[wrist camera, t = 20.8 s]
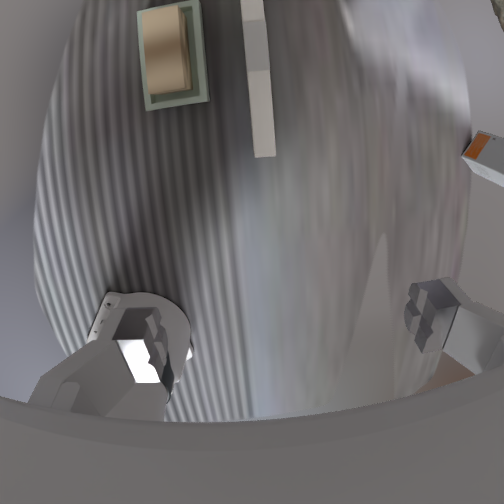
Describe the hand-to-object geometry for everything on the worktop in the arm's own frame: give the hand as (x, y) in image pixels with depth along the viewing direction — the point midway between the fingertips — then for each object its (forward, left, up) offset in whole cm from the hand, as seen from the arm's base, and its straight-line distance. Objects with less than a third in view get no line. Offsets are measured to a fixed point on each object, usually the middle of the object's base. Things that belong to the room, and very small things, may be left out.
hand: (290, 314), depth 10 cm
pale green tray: (+2, +16, -33) cm, 37 cm away
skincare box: (+27, -23, -33) cm, 49 cm away
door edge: (+9, +9, -33) cm, 35 cm away
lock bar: (+2, +16, -32) cm, 36 cm away
